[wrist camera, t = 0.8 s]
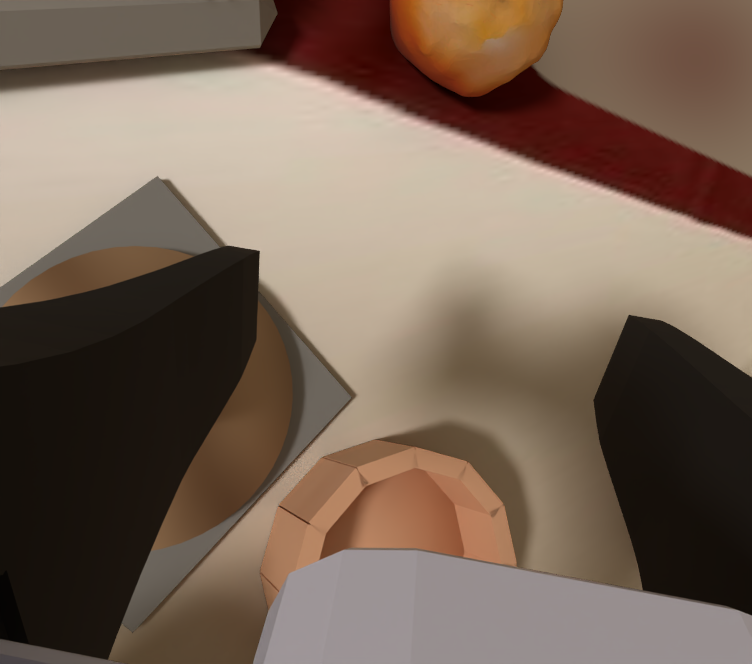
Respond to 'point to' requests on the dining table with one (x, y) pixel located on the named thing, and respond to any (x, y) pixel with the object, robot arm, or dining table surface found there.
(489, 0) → the fruit
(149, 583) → the mat
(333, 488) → the bowl
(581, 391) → the dining table surface
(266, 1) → the decorative tray
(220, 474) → the lid
